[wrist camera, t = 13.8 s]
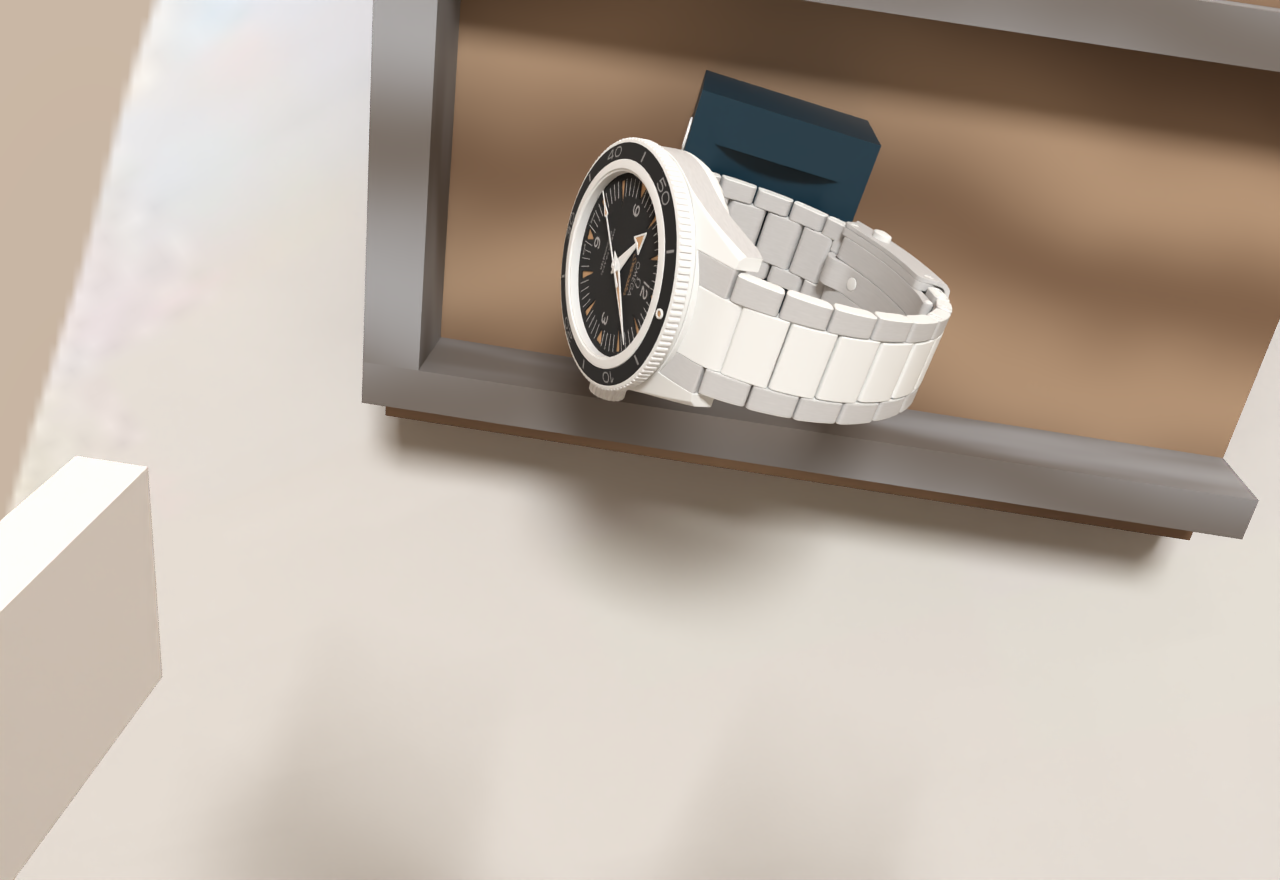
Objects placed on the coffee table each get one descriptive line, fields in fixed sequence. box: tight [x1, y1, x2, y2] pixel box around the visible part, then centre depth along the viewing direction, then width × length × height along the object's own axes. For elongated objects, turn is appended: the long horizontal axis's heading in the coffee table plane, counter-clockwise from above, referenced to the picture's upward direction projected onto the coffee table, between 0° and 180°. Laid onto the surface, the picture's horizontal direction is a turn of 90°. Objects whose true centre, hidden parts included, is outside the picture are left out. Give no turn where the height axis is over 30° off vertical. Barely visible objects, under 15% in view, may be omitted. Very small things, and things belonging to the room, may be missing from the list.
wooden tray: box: [362, 0, 1280, 540], centre depth 30 cm, size 16×24×4 cm, turn 82°
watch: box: [561, 70, 952, 425], centre depth 25 cm, size 6×8×11 cm
